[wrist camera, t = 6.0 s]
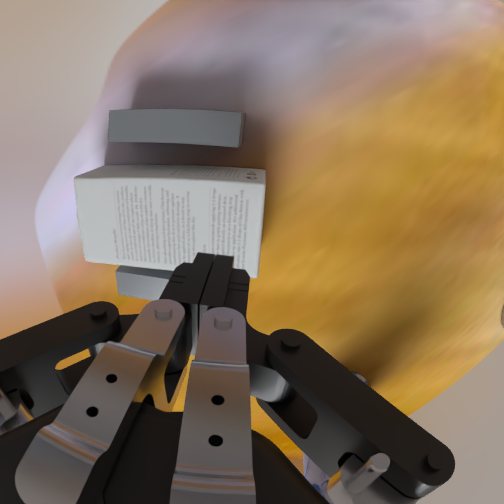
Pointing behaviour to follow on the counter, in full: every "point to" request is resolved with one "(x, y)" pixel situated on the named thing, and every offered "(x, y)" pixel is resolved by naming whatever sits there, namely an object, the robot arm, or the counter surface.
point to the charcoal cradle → (168, 131)
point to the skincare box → (170, 214)
